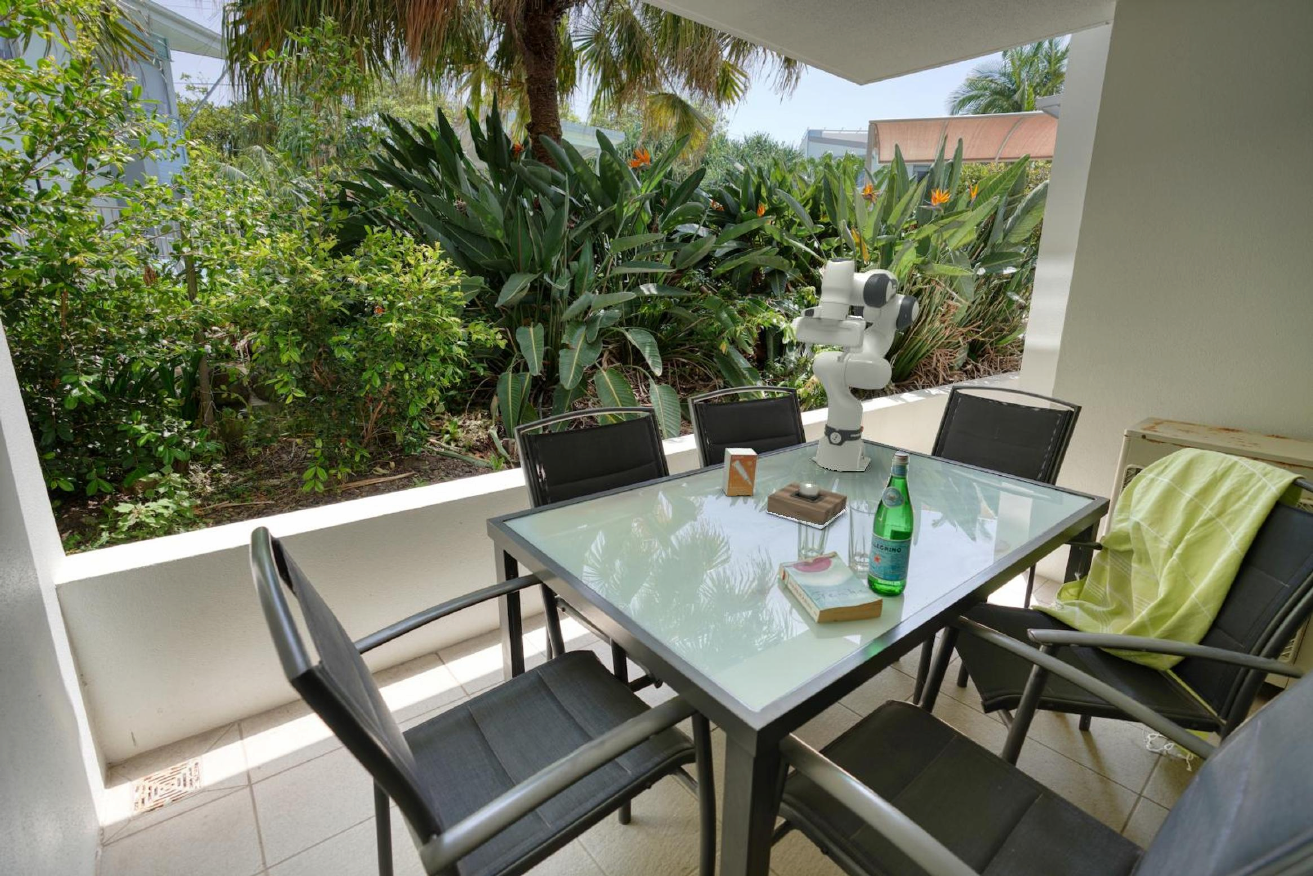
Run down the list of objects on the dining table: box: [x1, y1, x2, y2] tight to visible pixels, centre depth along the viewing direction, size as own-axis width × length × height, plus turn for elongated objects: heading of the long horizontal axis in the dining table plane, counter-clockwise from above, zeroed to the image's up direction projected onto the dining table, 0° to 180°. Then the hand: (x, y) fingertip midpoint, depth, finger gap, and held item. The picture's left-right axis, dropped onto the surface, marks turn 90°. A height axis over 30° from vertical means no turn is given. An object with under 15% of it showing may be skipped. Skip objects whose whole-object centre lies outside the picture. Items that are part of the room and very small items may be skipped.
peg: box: [799, 480, 820, 501], centre depth 169 cm, size 5×5×5 cm
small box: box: [721, 447, 758, 497], centre depth 181 cm, size 8×6×13 cm
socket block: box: [766, 481, 848, 525], centre depth 170 cm, size 16×16×5 cm
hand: (825, 360), depth 185 cm, fingers open, 8 cm apart
